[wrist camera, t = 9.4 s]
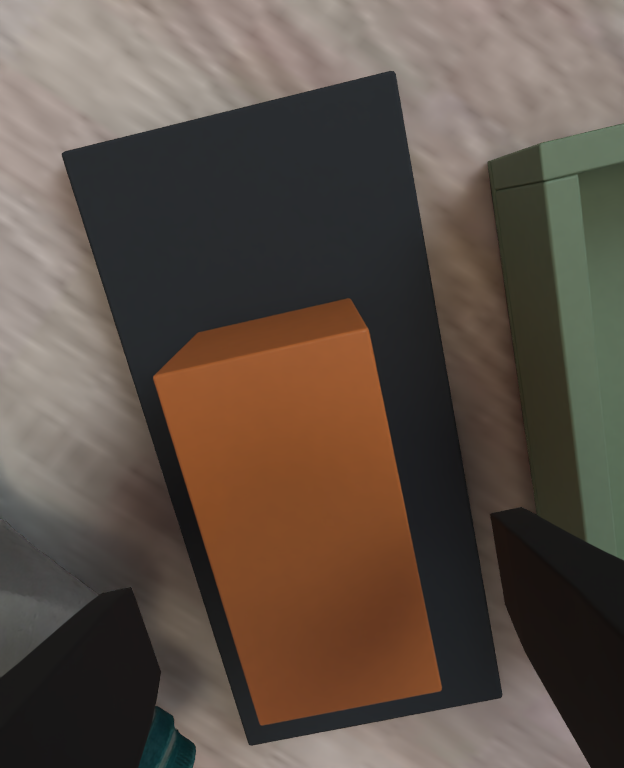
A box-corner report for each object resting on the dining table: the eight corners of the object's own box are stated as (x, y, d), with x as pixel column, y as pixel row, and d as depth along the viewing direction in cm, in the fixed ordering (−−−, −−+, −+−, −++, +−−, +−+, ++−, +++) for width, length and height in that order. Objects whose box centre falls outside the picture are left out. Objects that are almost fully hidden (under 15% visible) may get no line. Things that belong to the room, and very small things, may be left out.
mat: (496, 681, 21) (503, 699, 20) (250, 728, 21) (248, 747, 21) (390, 76, 16) (395, 69, 15) (70, 155, 16) (59, 152, 16)
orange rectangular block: (408, 572, 19) (443, 692, 14) (271, 600, 19) (259, 727, 14) (350, 297, 17) (368, 327, 12) (196, 332, 17) (151, 376, 12)
